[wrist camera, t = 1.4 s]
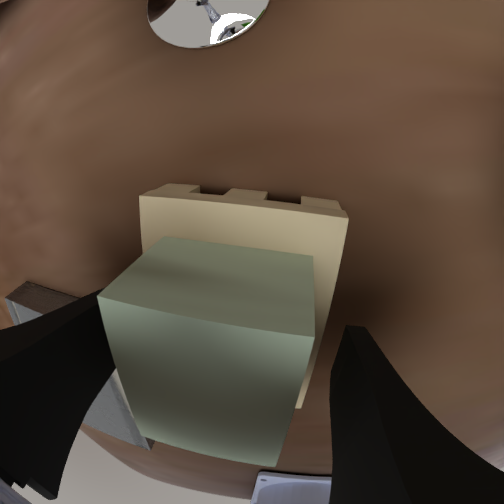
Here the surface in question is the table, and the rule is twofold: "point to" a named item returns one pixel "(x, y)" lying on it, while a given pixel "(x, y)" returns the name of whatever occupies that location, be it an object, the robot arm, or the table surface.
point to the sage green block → (223, 316)
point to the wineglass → (202, 20)
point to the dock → (112, 394)
